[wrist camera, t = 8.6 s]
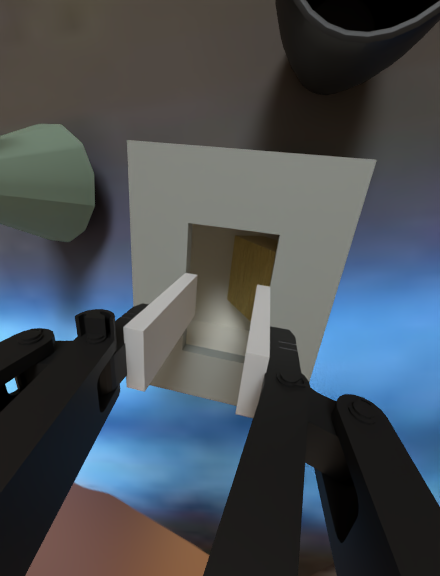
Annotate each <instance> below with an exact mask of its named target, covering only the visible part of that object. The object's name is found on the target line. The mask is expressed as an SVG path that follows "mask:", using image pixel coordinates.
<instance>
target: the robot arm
mask: <svg viewBox="0 0 440 576" xmlns="http://www.w3.org/2000/svg"><path fill="white" fill-rule="evenodd" d="M197 276H198V275H195V274H189V273H185V274H184V275H182V276H181V277H180V278H179V279H178V280H177V281H176V282H174V283H173V284H172V285H171V286H170V287H169V288H168V289H166V290H165V291H164V292H163V293H162V294H161V295H160V296H158V297H157V298H156V299H155V300H154V301H153V302H152V303H150V304H144V303H142V304H139V305H137V306H134V307H133V308H131V309H130V310H129V311H127V313H125V314H124V315H122V317H120V318H119V319H117V320H116V321H115V316H114V313H112V312H111V311H108V310H103V309H95V310H88V311H85V312H82V313H79V314H78V315H76V316H75V321H76V328H77V335H78V337H77V338H76V339H75V340H74V341H55V337H54V334H53V331H51V330H49V329H42V328H37V329H30V330H27V331H23V332H21V333H18V334H16V335H14V336H12V337H10V338H8V339H5V340H3V341H1V342H0V576H25V575H26V573H27V571H28V569H29V567H30V565H31V563H32V561H33V559H34V557H35V555H36V553H37V552H38V550H39V548H40V546H41V544H42V542H43V540H44V538H45V536H46V534H47V532H48V531H49V529H50V527H51V525H52V523H53V521H54V519H55V517H56V515H57V513H58V511H59V509H60V508H61V506H62V504H63V502H64V500H65V498H66V496H67V494H68V492H69V490H70V488H71V486H72V485H73V483H74V481H75V479H76V477H77V475H78V473H79V471H80V469H81V467H82V465H83V463H84V461H85V460H86V458H87V456H88V454H89V452H90V450H91V448H92V446H93V444H94V442H95V440H96V438H97V437H98V435H99V433H100V431H101V429H102V427H103V425H104V423H105V421H106V419H107V417H108V415H109V414H110V412H111V410H112V408H113V406H114V404H115V402H116V400H117V398H118V396H119V393H120V383H121V381H122V380H123V379H124V378H125V377H126V381H127V387H128V388H132V389H136V390H140V391H144V392H145V390H146V389H147V387H148V386H149V384H150V383H151V381H152V380H153V378H154V377H155V375H156V374H157V372H158V371H159V369H160V368H161V366H162V365H163V363H164V361H165V360H166V358H167V357H168V355H169V354H170V352H171V351H172V349H173V348H174V346H175V345H176V343H177V342H178V340H179V339H180V337H181V336H182V334H183V333H184V331H185V329H186V328H187V326H188V325H189V323H190V322H191V320H192V319H193V317H194V316H195V306H196V291H197ZM13 378H15V380H16V384H17V388H18V389H17V390H16V391H14V392H12V393H10V394H9V393H8V392H7V389H6V386H5V384H6V383H7V382H9V381H10V380H12V379H13ZM236 414H238V415H242V416H246V417H250V418H253V421H252V424H251V427H250V430H249V433H248V437H247V440H246V443H245V446H244V449H243V452H242V455H241V458H240V462H239V465H238V468H237V471H236V474H235V477H234V480H233V484H232V487H231V490H230V493H229V496H228V499H227V502H226V506H225V509H224V512H223V515H222V518H221V521H220V524H219V528H218V531H217V534H216V537H215V540H214V543H213V546H212V550H211V553H210V556H209V559H208V562H207V565H206V568H205V571H204V575H203V576H298V564H299V549H300V534H301V518H302V503H303V488H304V472H305V463H307V464H309V465H310V466H312V467H314V470H315V474H316V479H317V484H318V489H319V493H320V498H321V503H322V508H323V512H324V517H325V522H326V526H327V531H328V536H329V541H330V545H331V550H332V555H333V560H334V564H335V569H336V573H337V576H440V507H439V505H438V503H437V502H436V500H435V498H434V496H433V495H432V493H431V491H430V490H429V488H428V486H427V485H426V483H425V481H424V479H423V478H422V476H421V474H420V473H419V471H418V469H417V468H416V466H415V464H414V462H413V461H412V459H411V457H410V456H409V454H408V452H407V451H406V449H405V447H404V445H403V444H402V442H401V440H400V439H399V437H398V435H397V433H396V432H395V430H394V428H393V427H392V425H391V423H390V422H389V420H388V418H387V417H386V415H385V414H384V413H383V412H382V410H381V409H379V408H378V407H377V406H376V405H375V404H373V403H372V402H370V401H368V400H366V399H365V398H363V397H360V396H356V395H351V394H345V395H342V396H340V397H339V398H338V400H337V401H334V400H332V399H330V398H327V397H325V396H323V395H321V394H319V393H317V392H316V391H314V390H313V389H312V388H310V385H309V381H308V379H307V378H306V377H305V375H303V374H302V373H301V368H300V362H299V356H298V351H297V345H296V338H295V336H294V335H293V333H292V332H291V331H290V330H288V329H282V328H277V327H272V326H270V287H269V286H263V285H257V288H256V294H255V300H254V306H253V312H252V318H251V324H250V330H249V336H248V342H247V348H246V354H245V360H244V366H243V372H242V378H241V384H240V390H239V396H238V402H237V409H236Z"/></svg>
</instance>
